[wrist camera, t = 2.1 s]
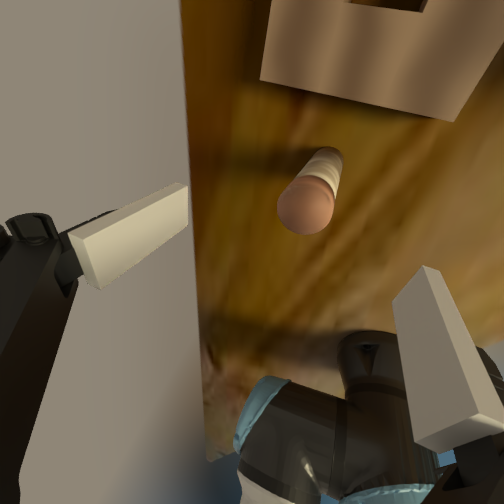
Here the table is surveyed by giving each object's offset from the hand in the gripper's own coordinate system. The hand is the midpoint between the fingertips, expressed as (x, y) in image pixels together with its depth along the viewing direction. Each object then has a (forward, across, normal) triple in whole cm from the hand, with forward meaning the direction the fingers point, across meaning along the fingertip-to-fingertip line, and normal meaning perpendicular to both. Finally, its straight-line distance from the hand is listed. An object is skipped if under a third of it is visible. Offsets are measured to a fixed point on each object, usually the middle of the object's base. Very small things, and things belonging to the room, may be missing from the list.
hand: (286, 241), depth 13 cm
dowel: (+21, 0, 0) cm, 21 cm away
